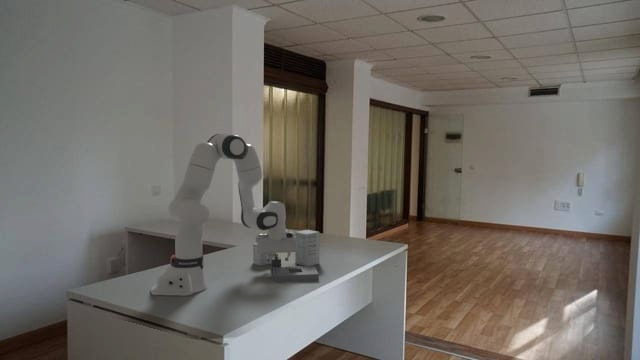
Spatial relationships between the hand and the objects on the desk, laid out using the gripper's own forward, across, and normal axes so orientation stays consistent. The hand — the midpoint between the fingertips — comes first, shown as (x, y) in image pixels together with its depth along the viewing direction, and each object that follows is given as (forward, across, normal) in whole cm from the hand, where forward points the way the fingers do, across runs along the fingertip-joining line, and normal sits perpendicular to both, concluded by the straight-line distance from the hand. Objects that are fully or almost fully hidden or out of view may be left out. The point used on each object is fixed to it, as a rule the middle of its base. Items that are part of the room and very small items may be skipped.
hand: (277, 261), depth 219 cm
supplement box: (+5, +16, +10) cm, 20 cm away
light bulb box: (+5, -6, +14) cm, 16 cm away
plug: (+4, 0, 0) cm, 5 cm away
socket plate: (+4, +8, -12) cm, 15 cm away
